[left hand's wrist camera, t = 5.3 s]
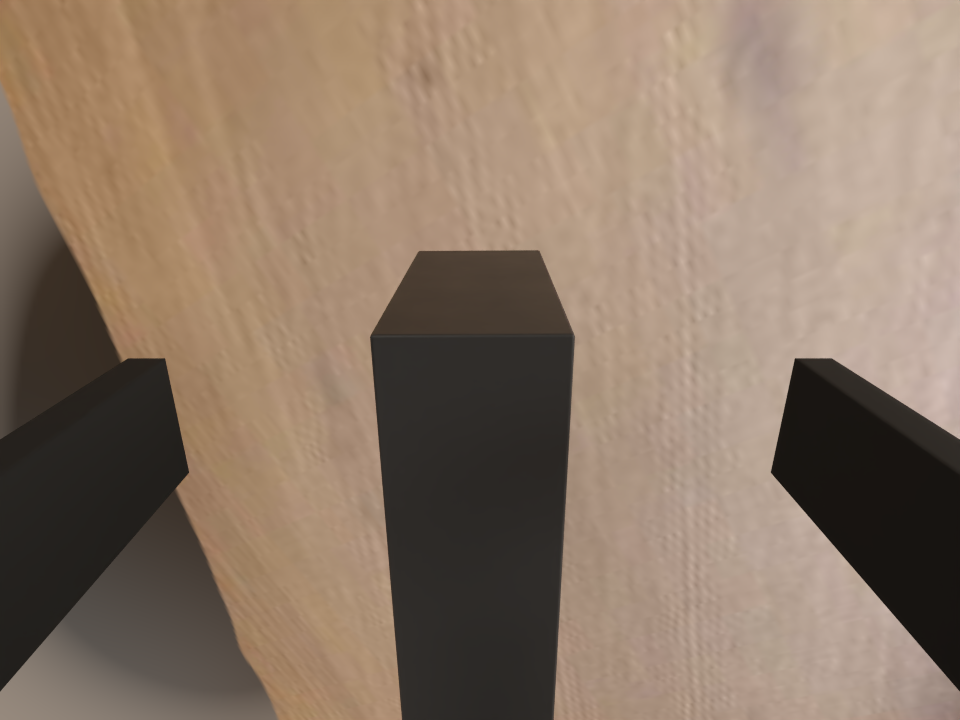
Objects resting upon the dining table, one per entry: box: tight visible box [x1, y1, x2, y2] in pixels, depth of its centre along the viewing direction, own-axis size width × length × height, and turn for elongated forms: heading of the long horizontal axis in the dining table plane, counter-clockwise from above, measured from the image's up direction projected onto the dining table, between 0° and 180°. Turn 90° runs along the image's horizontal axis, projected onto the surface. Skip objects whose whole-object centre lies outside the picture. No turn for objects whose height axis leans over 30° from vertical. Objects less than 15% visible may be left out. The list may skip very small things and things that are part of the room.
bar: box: [370, 250, 575, 720], centre depth 22 cm, size 27×4×10 cm, turn 0°
